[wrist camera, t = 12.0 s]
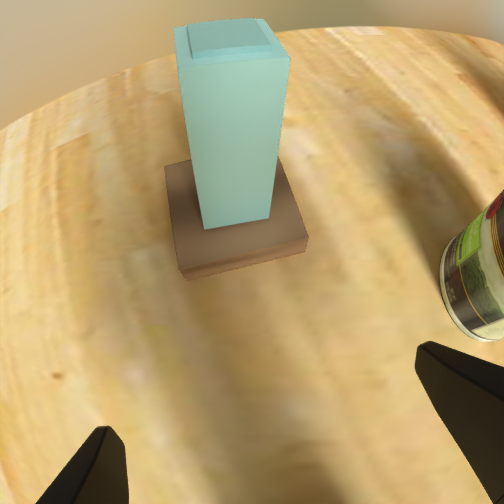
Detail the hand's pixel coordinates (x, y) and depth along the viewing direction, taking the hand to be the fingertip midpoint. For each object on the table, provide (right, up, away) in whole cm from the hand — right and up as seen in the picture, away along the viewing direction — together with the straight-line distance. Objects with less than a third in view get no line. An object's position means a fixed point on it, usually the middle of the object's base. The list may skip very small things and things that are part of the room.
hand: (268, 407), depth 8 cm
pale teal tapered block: (-2, +8, +15) cm, 17 cm away
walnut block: (-2, +7, +18) cm, 20 cm away
